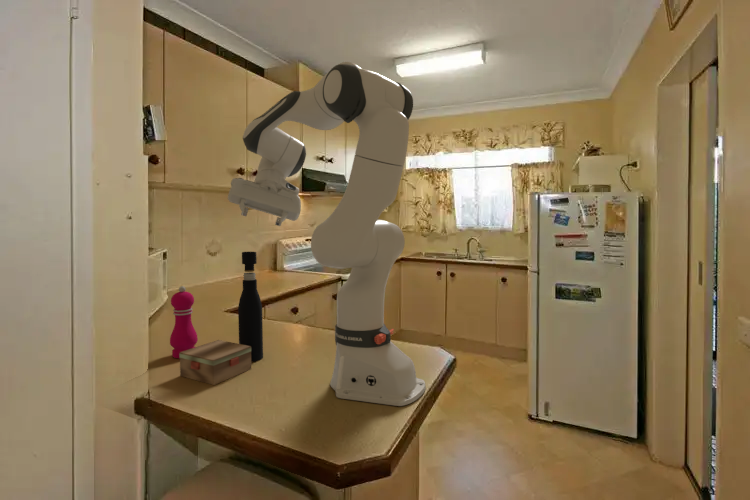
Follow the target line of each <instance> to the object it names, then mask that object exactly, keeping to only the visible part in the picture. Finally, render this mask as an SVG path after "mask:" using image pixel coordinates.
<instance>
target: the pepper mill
mask: <svg viewBox="0 0 750 500" xmlns="http://www.w3.org/2000/svg"><path fill="white" fill-rule="evenodd" d="M194 302H195V297H194V295H193V294H192V293H191V292H190V291H186V287H185V286H184V285H183V286H179V288H178V292H176V293H174V294H173V295H172V296H171V299H170V304H171V307H173V309H172V311H173V314H172V315H174V317H175V318H174V327H173V329H172V332H171V334H170V338H169V344H170V346H171V347H172V348H173V349H172V352H171V353H172V355H171V356H172V358H173V357H174V358H173V359H179V360H180V358H179V354H180V352H182V351H185V350H189V349H192V348H195V347H196V346H195V345H197V343H198V334H197V331H196V329H195V327H194V325H193V323H192V313H193V311H194V310H193V307H192V306H193V305H194V304H195V303H194Z"/></svg>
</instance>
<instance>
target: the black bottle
mask: <svg viewBox="0 0 750 500" xmlns="http://www.w3.org/2000/svg"><path fill="white" fill-rule="evenodd" d="M257 259H258V258H257V252H256V251H242V252H241V264H242V265H244V273H243V280H242V291H241V293H240V298H239V302H238V307H237V311H238V312H237V313H238V316H237V317H238V319H237V321H238V344H242V345H247V346H251V363H252V362H258V361H261V360H262V359H264V337H263V336H264V335H263V332H264V331H263V304H262V300H261V297H260V294H259V292H258V286H257V285H258V280H257V279H256V276H257V274H256V272H255V264H257Z"/></svg>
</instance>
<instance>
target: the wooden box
mask: <svg viewBox="0 0 750 500" xmlns="http://www.w3.org/2000/svg"><path fill="white" fill-rule="evenodd" d="M194 347H195V348H192V349H189V350H185V351H182V352H180V354H179V358H180V359H179V358H178V359H179V375H180V377H183V378H187V379H191V380H193V381H198V382H202V383H204V384H209V385H213V386H215V385H218V384H219V383H222V382H224V381H226V380H228V379H232V378H233V377H236V376H238V375H241V374H242V373H245V372H247V371H249V370H250V371H251V369H252V362H251V346H247V345H242V344H239V343H238V342H237V343H236V342H231V341H226V340H220V339H216V340H213V341H211V342H208V343H205V344H202V345H198V346H194Z"/></svg>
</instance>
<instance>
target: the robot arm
mask: <svg viewBox="0 0 750 500" xmlns="http://www.w3.org/2000/svg"><path fill="white" fill-rule="evenodd" d="M413 109H414V98H413V95H412V92H411V91H410V90H409V89H408V88H407V87H406V86H405V85H403V84H401V83H400V82H397V81H393V80H391V79H390V78H387V77H386V76H384V75H382V74H379V73H378V72H375V71H372V70H370V69H364V68H362V67H360V66H359V65H357V64H356V63H354V62H352V61H343V62H340V63H338V64H336V65H334V66H333V67H332V68H331V69H330V70H329V71H328V72H326V74H324V76H322V78H320V80H319V81H318V82H317V83H316V85H314V87H312V88H310V89H307V90H301V91H298V90H293V91H291V92H289V93H288V94H286V95H285V96H284V97H282V98H281V99H279V101H277V102H276V103H275V104H273V105H272V106H271V107H270V108H269V109H268V110H266V111H265V112H264V113H263V114H261V115H260V116H258V117H256V118H254V119H252V121H250V122H249V123H248V124H247V126H246V128H245V129H244V131H243V135H242V140H243V144H244V146H245V148H246V150H247V151H250V152H251V153H253V154H255V155H259V156H260V157H261V159H260V162H259V163H258V166H257V173H256V175H255V178H254V181H252V180H249V179H244V178H242V177H237V178H234V177H233V178H232V180H231V181H230V186H231V187H230V188H229V191H228V194H227V200H228V201H229V202H230V203H232V204H235V205H238V208H239V209H240V211H241V216H243V217H247V215H248V212H249V209H253V210H256V211H259V212H264V213H266V214H269V215H272V216H276V219H275V223H274V225H275V226H278V227H281V226H282V223H283V222H284V221H286V220H289V221H293V222H295V221H297V220H298V219H299V217H300V215H301V211H302V209H301V208H302V202H301V201H302V200H301V198H300V196H299V195H300V188H299V187H297V186H296V185H294V184H292V183H290V181H288V180H287V179H286V178H290V177H292V176H294V175H296V174H297V173H298V172H299V171H300V170H301V169H302V167H303V166H304V163H305V160H306V157H307V149H306V145H305V143H303V142H302V141H301V140H298V139H297V138H296V137H294V136H292V135H291V134H289V133H287V132H285V131H284V130H283V129H281V128H279V126H280V125H282V124H283V123H285V122H295V123H300V124H302V125H304V126H307V127H311V128H313V129H316V130H319V131H331V130H334V129H336V128H338V127H340V126H341V125H342V124H343V123H347V124H350V123H351V122H355V124H356V126H357V127H358V130H359V135H358V139H357V140H358V141H357V144H356V148H355V151H354V156H353V162H352V166H351V171H350V174H349V179H348V182H347V186H346V188H345V191H344V193H343V196H342V197H341V200H339V203H338V204H337V206H336V207H335V209H334V210H333V212H331V214H330V215H329V216H328V217H327V218H326V219H325V220H323V222H321V223H320V224H318V225H317V226H316V228H315V229H314V231H313V233H312V234H311V239H310V249H311V253H312V256H313V257H314V259H315V260H316V262H317V263H318V264H319V265H321V266H323V267H325V268H326V267H328V268H332V269H340V270H341V269H342V270H343V269H350V268H351V269H350V272H349V273H350V274H349V276H348V278H347V279H346V281H345V282H344V284H342V286H340V287H339V290H338V291H337V294H336V324H335V325H334V328H335V329H334V339H335V340H334V341H335V346H336V349H335V357H334V358H335V359H334V364H333V365H334V367H333V372H332V375H331V380H330V384H329V385H330V387H331V388H332V389H333V390H334V391H335V396H336V398H337V399H342V400H343V399H345V400H351V401H358V402H365V403H372V404H373V403H374V404H379V405H387V406H395V407H397V406H398V407H404V406H407V405H409V404H411V403H414V402H415V401H417V400H418V399H420V398H421V397H422V395H423V394H424V393H425V391H426V390H427V389H426V388H427V387H426V382H425V380H424V379H422V378H418V377H417V374H416V366H415V364H414V361H413V360H412V358H411V357H410V356H408V355H407V354H406V353H405V352H403V351H402V350H401V349H400V348H399V347H398V346H397V345H395V344H394V342H392V341H391V335H393V334H394V328H391V329H388V327H387V326H386V324H385V319H384V318H385V314H384V313H385V293H386V288H387V283H388V279H389V277H390V274H391V271H392V269H393V267H394V264H395V262H396V261H397V259H398V258H399V257H400V256H401V254H403V251H404V248H405V235H404V233H403V232H404V231H403V230H402V229H401V228H400V226H399V225H397V224H396V223H394V222H390V221H387V220H384V219H379V218H380V216H381V215H382V213H383V212H384V211H385V210H386V209H387V208H388V207H390V206H391V205H392V204H393V203H394V202H395V200H396V198H397V195H398V192H399V186H400V183H401V178H402V174H403V170H404V166H405V162H406V156H407V152H408V146H409V134H410V124H409V120H410V118H411V116H412V113H413Z"/></svg>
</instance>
